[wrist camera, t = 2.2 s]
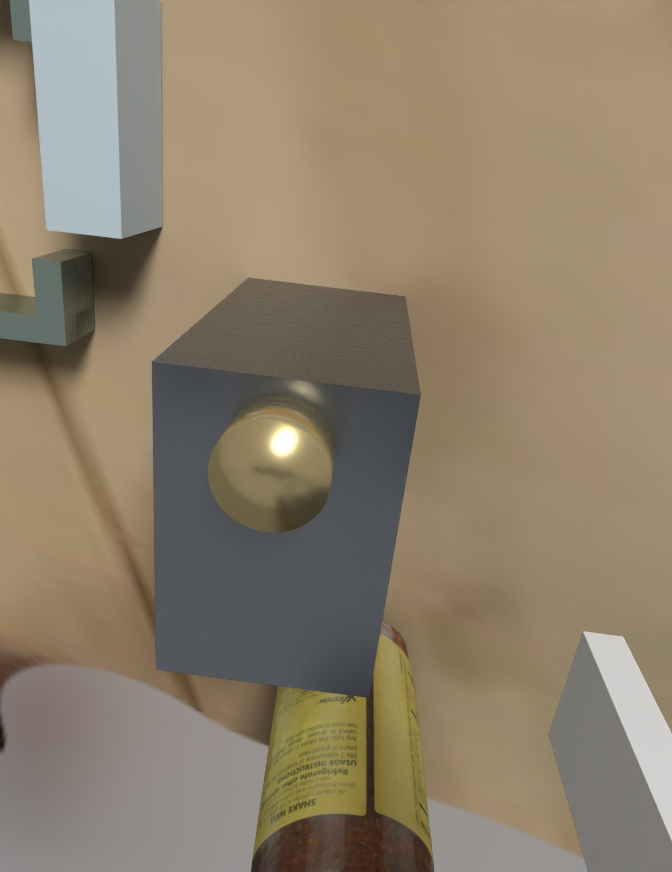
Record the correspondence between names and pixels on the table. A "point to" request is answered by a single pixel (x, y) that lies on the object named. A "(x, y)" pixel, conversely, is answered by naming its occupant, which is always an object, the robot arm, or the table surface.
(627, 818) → the robot arm
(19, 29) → the socket
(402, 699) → the sauce bottle
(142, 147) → the light grey rectangular block
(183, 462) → the grey box with knob
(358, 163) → the table surface
